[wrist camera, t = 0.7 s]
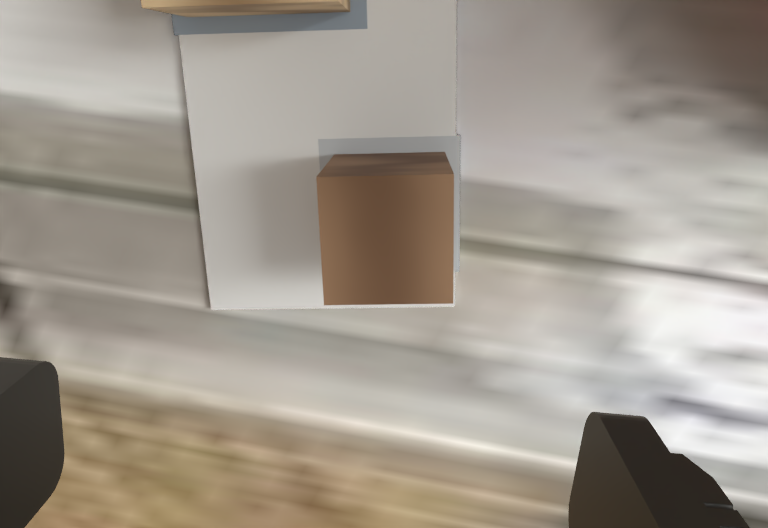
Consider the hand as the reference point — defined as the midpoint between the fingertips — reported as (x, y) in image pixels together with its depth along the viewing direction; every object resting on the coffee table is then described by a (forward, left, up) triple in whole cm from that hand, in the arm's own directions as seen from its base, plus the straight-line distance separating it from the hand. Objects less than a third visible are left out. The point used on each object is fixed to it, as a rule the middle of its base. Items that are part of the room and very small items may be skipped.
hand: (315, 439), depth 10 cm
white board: (+2, -5, -21) cm, 22 cm away
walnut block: (-1, +1, -21) cm, 21 cm away
